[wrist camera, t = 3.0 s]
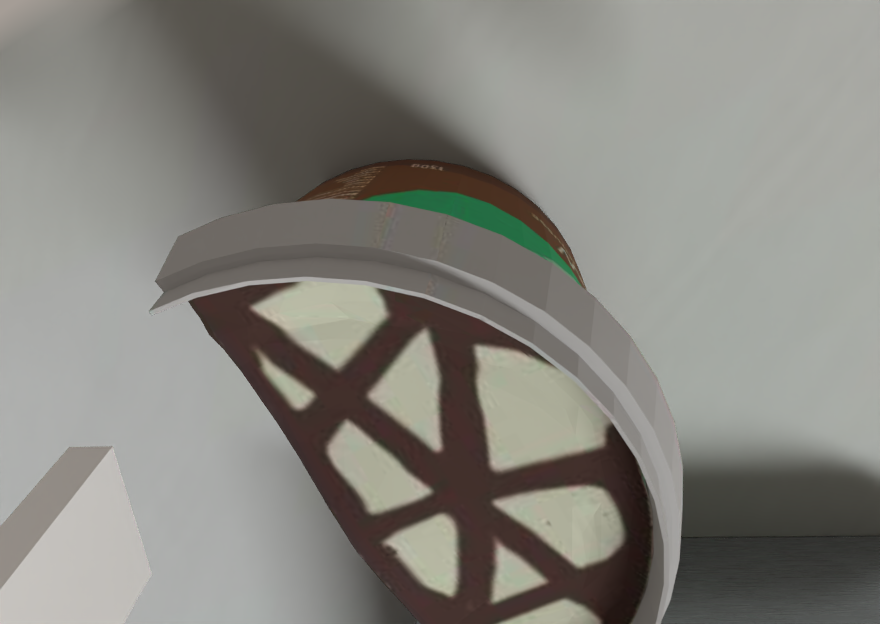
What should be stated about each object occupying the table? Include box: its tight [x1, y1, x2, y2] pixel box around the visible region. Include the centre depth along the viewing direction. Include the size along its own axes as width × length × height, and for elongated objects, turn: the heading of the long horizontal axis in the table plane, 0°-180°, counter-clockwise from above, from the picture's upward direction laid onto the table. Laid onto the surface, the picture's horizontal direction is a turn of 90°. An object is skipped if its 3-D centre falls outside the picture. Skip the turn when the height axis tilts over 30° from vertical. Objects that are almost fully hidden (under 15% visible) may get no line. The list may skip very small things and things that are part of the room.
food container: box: [149, 159, 683, 624], centre depth 18 cm, size 12×6×10 cm, turn 29°
